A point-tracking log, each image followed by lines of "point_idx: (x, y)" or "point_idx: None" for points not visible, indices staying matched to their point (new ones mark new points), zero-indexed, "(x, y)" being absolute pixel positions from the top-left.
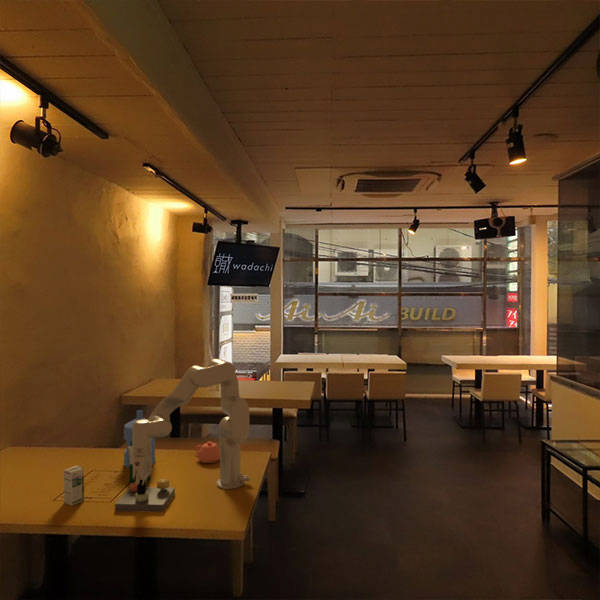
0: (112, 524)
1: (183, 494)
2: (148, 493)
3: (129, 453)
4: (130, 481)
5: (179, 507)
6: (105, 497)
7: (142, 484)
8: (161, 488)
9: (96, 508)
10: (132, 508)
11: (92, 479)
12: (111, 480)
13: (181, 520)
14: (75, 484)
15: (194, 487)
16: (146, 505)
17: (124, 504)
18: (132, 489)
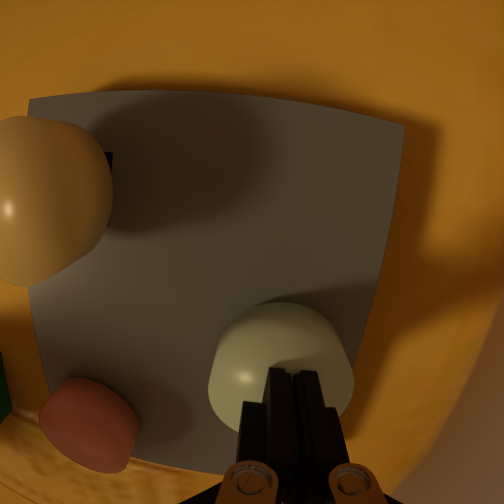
0: (445, 407)
1: (79, 38)
2: (284, 331)
3: None
4: (3, 416)
5: (308, 11)
6: (144, 486)
7: (370, 486)
8: (109, 197)
9: None
10: None
11: (34, 492)
12: (14, 455)
13: (480, 18)
14: None
15: (8, 18)
16: (370, 289)
17: None
18: (133, 447)
